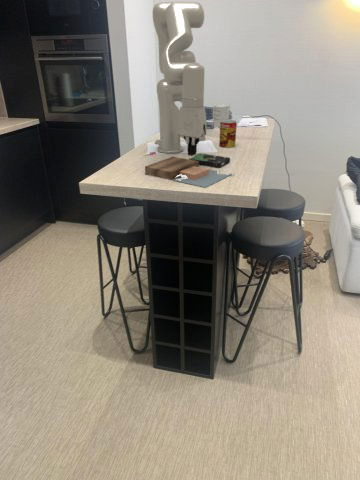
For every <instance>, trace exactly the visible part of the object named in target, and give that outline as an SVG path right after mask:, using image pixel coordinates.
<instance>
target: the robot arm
mask: <svg viewBox="0 0 360 480" xmlns="http://www.w3.org/2000/svg"><path fill="white" fill-rule="evenodd" d="M152 21H153V22H152V23H153V27H154V29H155V33H156V35H157V41H158V65H159V72H160V73H161V74H162V75H163V79H160V80H159V81H158V82H157V84H156V94H157V98H158V99H157V100H158V111H159V113H158V114H159V136H160V137H159V138H160V139H156V140H155V141H154V144H155V145H158V147H157V149H156V150H157V152H160V153H163V154H178V153H182V152H184V150H185V149H184V148H185V147H183V146H182V145H181V138H182V139H184V140H185V144H186V145H187V155H188V156H190V157H194V156H195V155H197V151H198V149H197V148H198V145H199V143H200V142H204V141H206V135H207V125H208V123H207V114H206V108H205V107H204V106H205V105H204V103H205V102H204V101H205V99H204V95H205V94H204V93H205V67H204V66H203V65H202V64H201V63H199V62H197V60H196V57H195V54H194V53H193V52H192V51H190V50H187V49H189V48H190V47H191V45H192V44H193V41H194V36H193V32H192V29H200V28H202V27H203V24H204V23H205V22H204V21H205V10H204V8H203V6H202V4H201V3H200V2H196V1H193V2H192V1H191V2H190V1H164V2H163V1H162V2H157V3H156V4H154V6H153V8H152ZM175 102H180V103H181V106H180V107H178V106H177V105H176V103H175Z"/></svg>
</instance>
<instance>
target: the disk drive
mask: <svg viewBox="0 0 360 480" xmlns="http://www.w3.org/2000/svg"><path fill="white" fill-rule="evenodd" d="M189 160H194V161H199V166H202V167H209V168H216V169H222V167H223V168H224V166H226V165H229V164H230V162H231V158H230V157H227V156H220V155H215V154H214V155H213V154H207V153H206V154H205V153H198V154H197V153H196V155H193V156H191V157H189Z"/></svg>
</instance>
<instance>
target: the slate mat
mask: <svg viewBox="0 0 360 480" xmlns="http://www.w3.org/2000/svg"><path fill="white" fill-rule="evenodd" d="M217 171H218V170H213V169H209V172H208V175H205V176H203V177H201V178H198V179H196V180H192V179H187V180H183V181H178V180H176V179H177V178H175V179H173V180H172V181H173V182H176V181H178V182H177V183H182V184H185V183H186V185H191V186H194V185H195V187H199V186H200V188H203V187H205V188H204V189H206V187H207V188H208V186H209V187H210V185H211V186H213V185H215V184H216V183H219V182H220V181H222V180H224V179H226V178H228V177H230V176H231V175H218V174H217Z"/></svg>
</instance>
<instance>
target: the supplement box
mask: <svg viewBox="0 0 360 480" xmlns="http://www.w3.org/2000/svg"><path fill="white" fill-rule="evenodd" d="M222 120H230V105H226V104H217V105H213V107H212V123H213V122H214V126H215V127H214V128H216V127H218V128H217V129H220V121H222Z"/></svg>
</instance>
